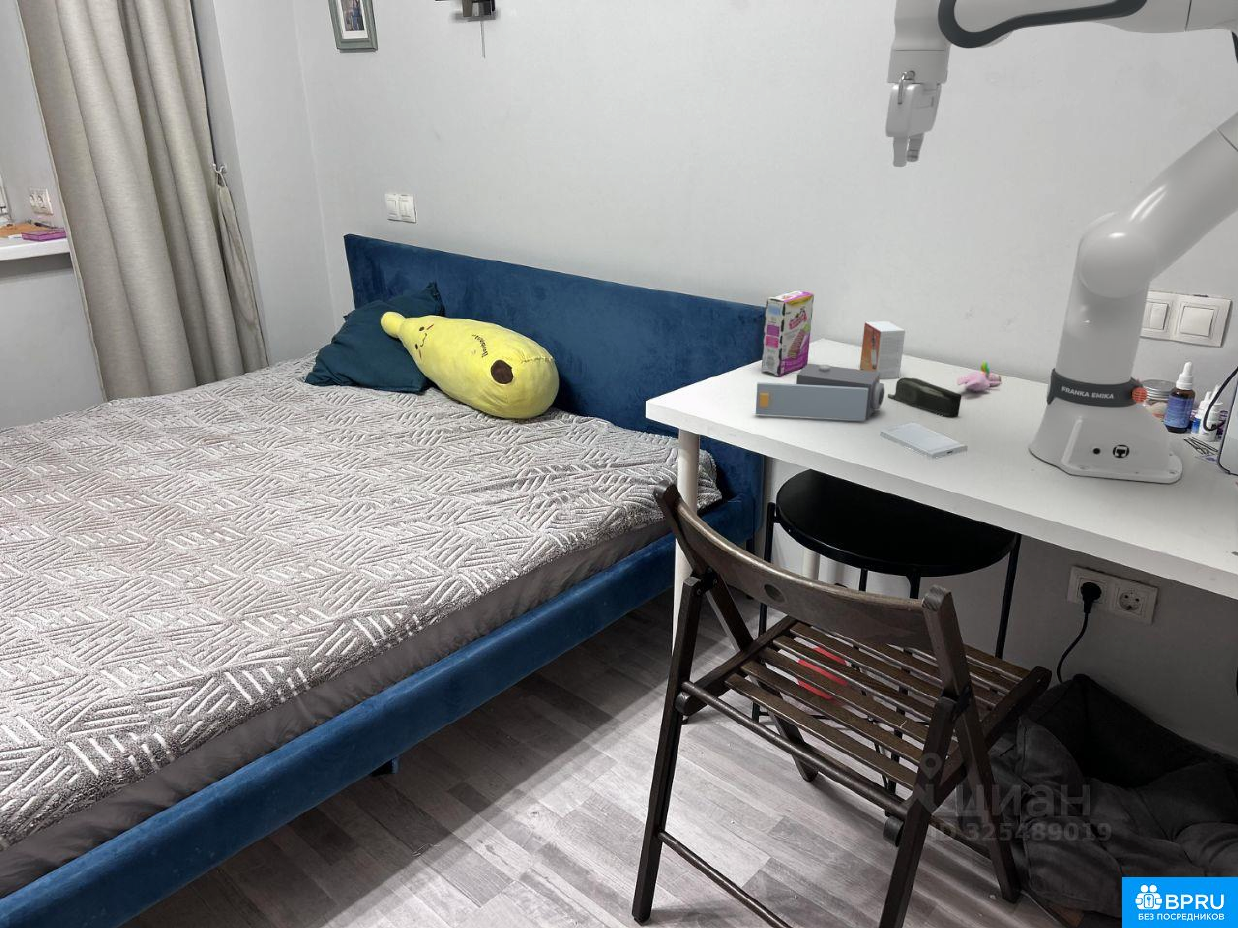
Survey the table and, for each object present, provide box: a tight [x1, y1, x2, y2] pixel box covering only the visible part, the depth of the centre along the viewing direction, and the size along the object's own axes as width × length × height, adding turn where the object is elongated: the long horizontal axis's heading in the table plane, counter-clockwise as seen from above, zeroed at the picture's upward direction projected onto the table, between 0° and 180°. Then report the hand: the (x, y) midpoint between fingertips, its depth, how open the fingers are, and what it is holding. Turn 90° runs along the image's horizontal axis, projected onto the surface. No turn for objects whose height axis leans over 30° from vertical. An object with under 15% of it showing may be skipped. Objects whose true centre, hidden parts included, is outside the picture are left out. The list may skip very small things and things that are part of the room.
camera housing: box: [795, 362, 885, 421], centre depth 172 cm, size 16×8×8 cm, turn 64°
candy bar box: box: [760, 290, 815, 378], centre depth 193 cm, size 11×5×16 cm, turn 136°
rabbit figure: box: [957, 361, 1003, 392], centre depth 182 cm, size 6×6×15 cm
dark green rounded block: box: [887, 376, 962, 418], centre depth 173 cm, size 5×3×15 cm
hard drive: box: [879, 422, 968, 460], centre depth 157 cm, size 2×8×12 cm
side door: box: [755, 381, 868, 421], centre depth 167 cm, size 20×2×6 cm, turn 79°
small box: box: [859, 320, 906, 380], centre depth 192 cm, size 8×6×10 cm
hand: (905, 164), depth 147 cm, fingers open, 8 cm apart
